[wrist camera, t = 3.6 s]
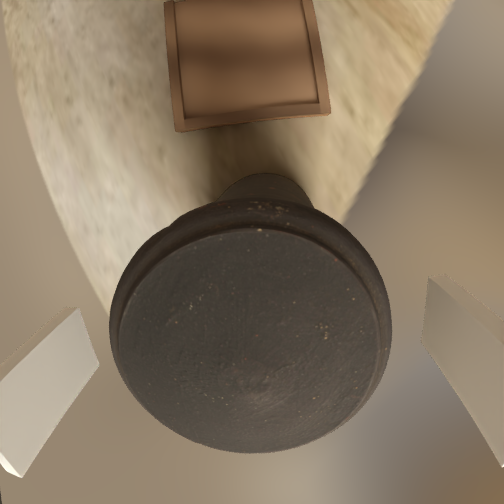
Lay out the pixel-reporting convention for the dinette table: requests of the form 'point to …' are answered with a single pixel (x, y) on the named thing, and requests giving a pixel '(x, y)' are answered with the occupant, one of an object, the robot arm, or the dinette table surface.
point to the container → (252, 321)
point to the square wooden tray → (243, 62)
